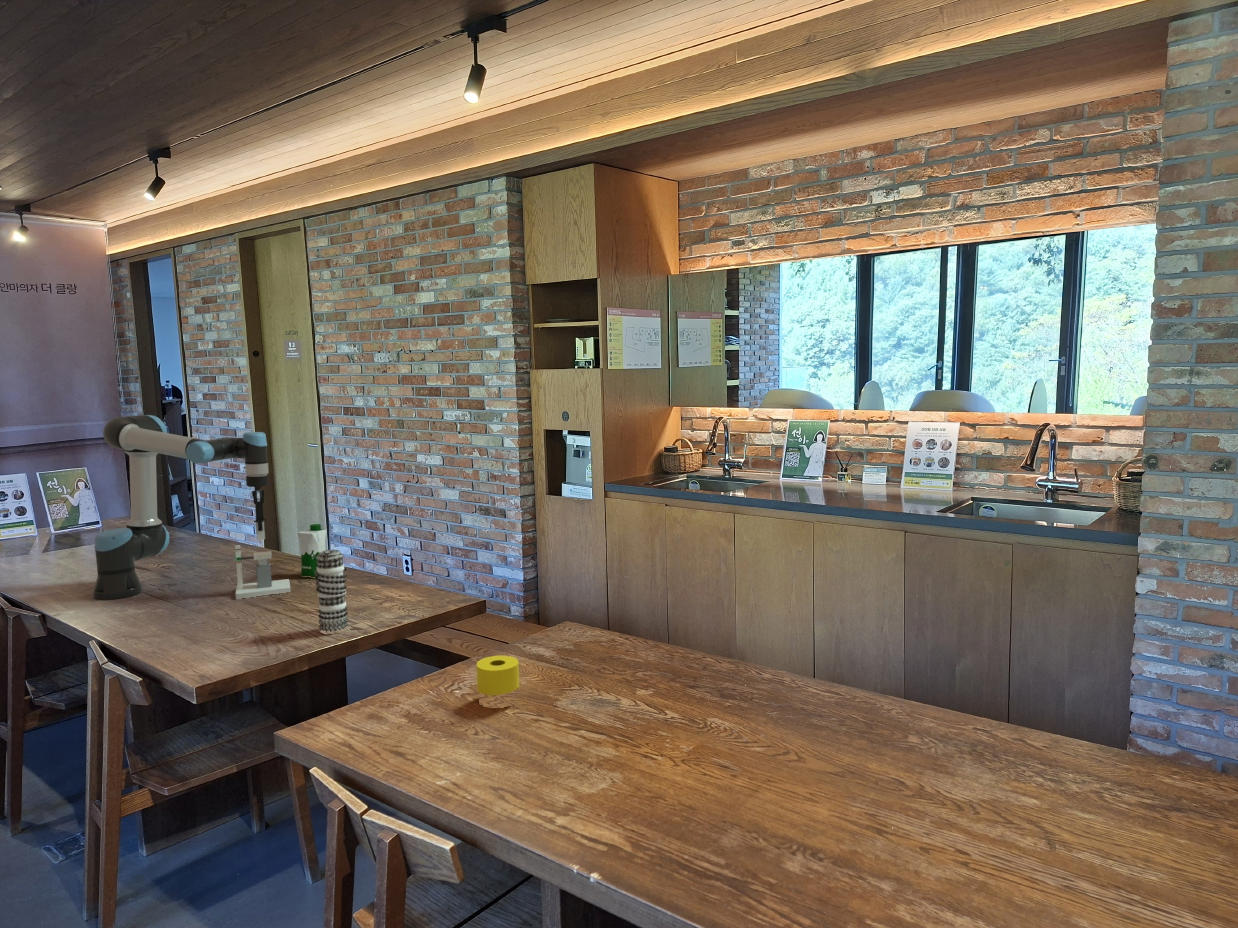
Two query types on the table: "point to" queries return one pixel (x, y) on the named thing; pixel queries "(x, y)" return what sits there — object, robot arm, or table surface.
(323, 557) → the decorative candle
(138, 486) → the robot arm
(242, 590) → the stand
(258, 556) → the square paddle
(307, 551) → the milk carton
